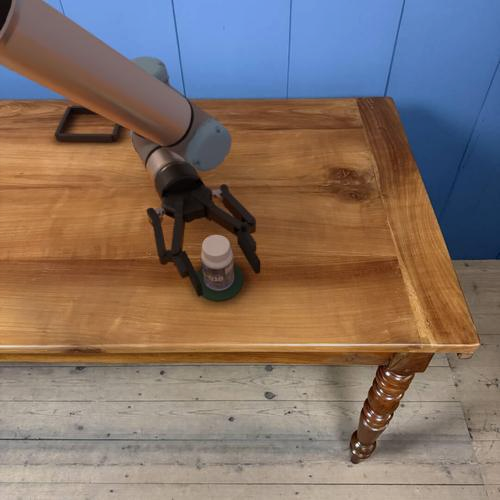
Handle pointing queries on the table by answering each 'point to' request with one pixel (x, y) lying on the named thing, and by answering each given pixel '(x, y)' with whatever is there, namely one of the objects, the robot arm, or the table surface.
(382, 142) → the table surface
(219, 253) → the pill bottle
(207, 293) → the mat
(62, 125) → the dark brown rectangular frame
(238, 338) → the table surface
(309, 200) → the table surface
